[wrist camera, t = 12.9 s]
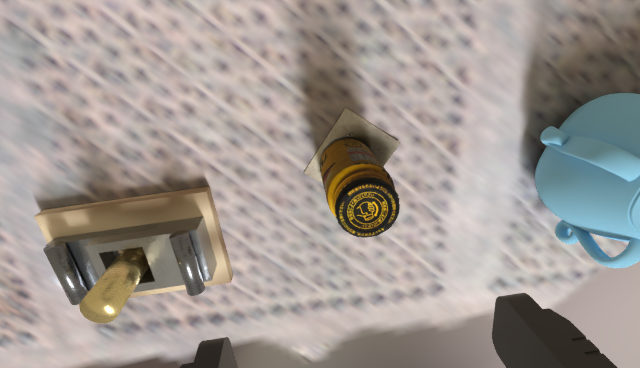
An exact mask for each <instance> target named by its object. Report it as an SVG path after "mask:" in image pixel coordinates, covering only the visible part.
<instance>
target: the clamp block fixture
mask: <svg viewBox="0 0 640 368" xmlns="http://www.w3.org/2000/svg"><path fill="white" fill-rule="evenodd" d="M34 217H35V219H36V221H37V223H38V225H39V227H40V229H41V231H42V233H43V235H44V237H45V239H46V241H47V243H48V244H47V245H46V246H47V247H45V248H44V252H45V254H46V256H47V258H48V260H49V262H50V264H51V266H52V268H53V270H54V272H55V274H56V275H57V277H58V279H59V281H60V283H61V285H62V287H63V289H64V291H65V293H66V295H67V297H68V299H69V301H70V303H71V304H72V305H77V304H79V305H80V302H81V301H82V300H83V298H84V297H85V296H86V295H87V293H88V292H89V291H90V290H91V288H92V287H93V286H94V285H95V284H96V282H97V281H98V280H99V279H100V277H101V276H102V275H103V274H104V272H105V271H106V270H107V269H108V267H109V266H110V265H111V264H112V263H113V261H114V260H115V259H116V258H117V256H118V255H119V254H120V253H121V251H122V250H123V249H130V248H137V247H143V250H144V253H145V255H146V258H147V261H148V263H149V267H148V268H147V270H146V272H145V273H144V275H143V276H142V278H141V280H140V281H139V283H138V284H137V286H136V287H135V289H134V291H133V292H132V294H131V295H130V297H129V298H131V297H138V296H144V295H151V294H157V293H164V292H171V291H177V290H184V289H186V290H187V293H188V295H190V296H195V295H198V294H200V293H202V292H203V291H204V289H205V286H210V285H217V284H223V283H230V282H231V280H232V276H233V273H232V269H231V266H230V262H229V258H228V254H227V250H226V247H225V243H224V239H223V235H222V232H221V228H220V224H219V220H218V217H217V213H216V209H215V205H214V202H213V198H212V194H211V190H210V187H209V186H208V187H201V188H194V189H187V190H180V191H173V192H166V193H159V194H151V195H144V196H137V197H130V198H123V199H116V200H109V201H102V202H95V203H88V204H81V205H74V206H67V207H60V208H53V209H46V210H43V211H41V212H40V213H38V214H37V215H35V216H34Z"/></svg>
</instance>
